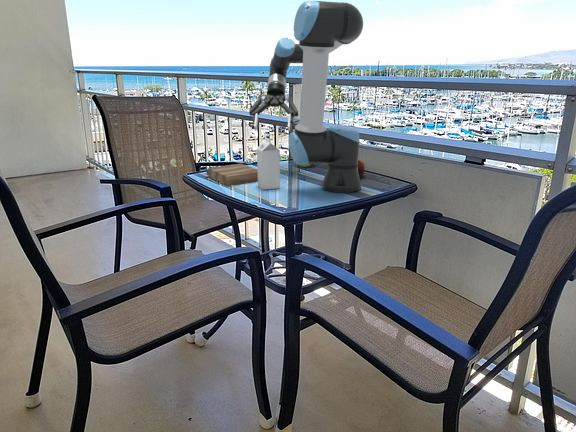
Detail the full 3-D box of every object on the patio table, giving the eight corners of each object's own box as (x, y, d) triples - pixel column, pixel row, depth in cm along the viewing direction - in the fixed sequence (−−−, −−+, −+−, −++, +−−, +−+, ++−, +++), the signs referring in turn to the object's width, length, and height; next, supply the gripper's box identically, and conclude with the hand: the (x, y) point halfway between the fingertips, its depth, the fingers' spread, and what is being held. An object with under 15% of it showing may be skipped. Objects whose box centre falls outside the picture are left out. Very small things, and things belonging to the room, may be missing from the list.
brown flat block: (262, 180, 174) (261, 171, 173) (227, 186, 165) (227, 176, 164) (239, 171, 189) (239, 162, 188) (206, 176, 181) (206, 167, 179)
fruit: (357, 181, 174) (359, 157, 171) (338, 177, 180) (339, 154, 177) (368, 176, 181) (370, 154, 177) (350, 173, 186) (351, 151, 183)
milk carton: (274, 184, 169) (274, 136, 163) (280, 188, 162) (279, 139, 156) (257, 185, 167) (256, 137, 160) (262, 190, 160) (261, 140, 154)
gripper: (305, 94, 180) (303, 134, 171) (248, 93, 182) (243, 133, 173) (305, 81, 173) (302, 123, 164) (246, 81, 175) (240, 122, 166)
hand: (272, 128), depth 168 cm, fingers open, 13 cm apart
